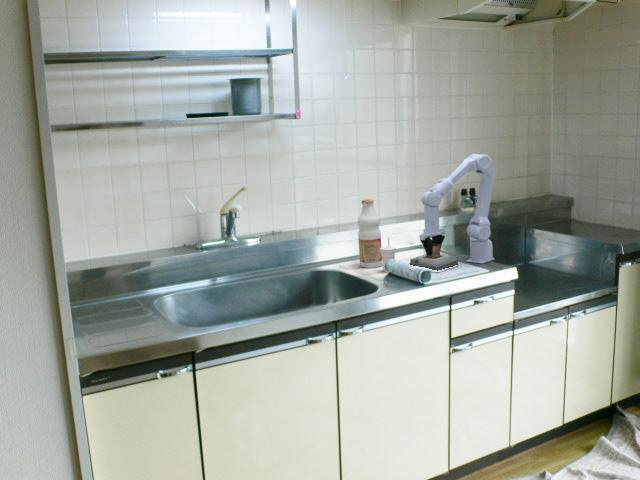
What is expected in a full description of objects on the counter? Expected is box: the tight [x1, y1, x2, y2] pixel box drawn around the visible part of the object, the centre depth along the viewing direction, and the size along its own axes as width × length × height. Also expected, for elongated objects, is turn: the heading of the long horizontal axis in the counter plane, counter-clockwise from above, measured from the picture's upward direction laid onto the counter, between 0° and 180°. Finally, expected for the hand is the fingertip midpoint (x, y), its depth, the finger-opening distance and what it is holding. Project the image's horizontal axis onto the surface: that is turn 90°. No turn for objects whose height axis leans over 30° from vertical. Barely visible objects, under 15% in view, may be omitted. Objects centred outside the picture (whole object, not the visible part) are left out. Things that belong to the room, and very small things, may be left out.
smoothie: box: [380, 236, 397, 273], centre depth 276 cm, size 6×6×14 cm
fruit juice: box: [357, 199, 383, 269], centre depth 287 cm, size 9×9×28 cm
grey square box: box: [408, 253, 459, 271], centre depth 278 cm, size 14×14×4 cm
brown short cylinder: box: [428, 243, 441, 259], centre depth 277 cm, size 5×5×6 cm
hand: (433, 254), depth 278 cm, fingers closed on brown short cylinder, 5 cm apart
